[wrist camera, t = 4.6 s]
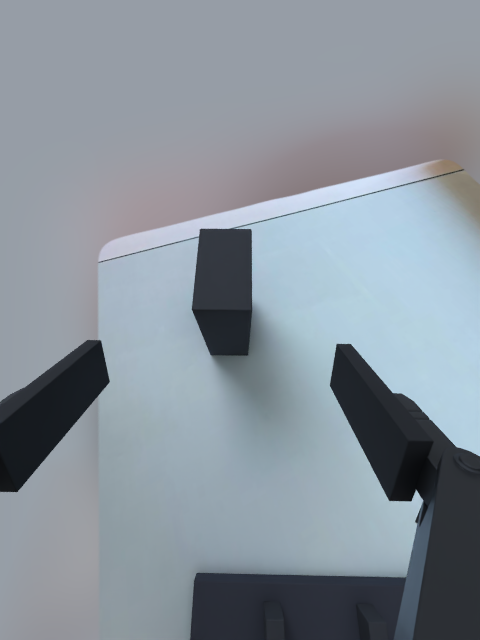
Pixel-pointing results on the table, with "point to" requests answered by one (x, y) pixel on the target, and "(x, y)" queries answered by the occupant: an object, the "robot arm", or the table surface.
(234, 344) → the black block
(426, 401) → the table surface
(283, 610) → the base pad
